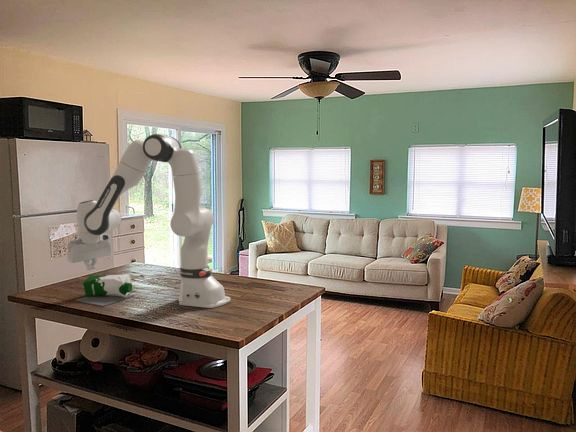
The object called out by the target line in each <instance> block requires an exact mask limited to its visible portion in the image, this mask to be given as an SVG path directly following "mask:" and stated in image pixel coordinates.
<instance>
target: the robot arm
mask: <svg viewBox="0 0 576 432" xmlns="http://www.w3.org/2000/svg"><path fill="white" fill-rule="evenodd" d="M153 161H155V162H162V163H168V164H169V165H170V169H171V172H172V173H171V174H172V179H173V181H172V182H173V187H174V195H175V198H174V199H175V200H174V210H173V214H172V217H171V219H170V223H169V224H170V229H171V230H172V232H173V233H174V234H175V235H176V236H178V237H184V239H183V243H182V245H181V247H180V268H179V275H180V277H181V278H180V280H181V281H180V289H179V295H178V305H179V306H187V307H197V308H199V307H200V308H205V309H206V308H207V309H212V308H217V307H220V306H224V305H225V304H228V303H229V302H231V297H230V296H228V295H226V294H225V293H226V292H225V288H224V286H223V284H221V283H220V282H219V281H218V280H217V279H216V278H215V277H214V276H213V275H212V273H213V272H214V269H213V268H211V269H210V267H209V265H208V264H209V263H208V259H209V258H208V250H209V248H208V245H209V240H210V236H211V235H210V234H211V229H212V226H213V225H214V221H215V217H214V214H213V213H214V212H212V211H211V209H209V208H206V207H203V206H200V203H201V197H202V194H203V189H202V180H201V175H200V169H199V168H200V167H199V163H198V160H197V157H196V155H195V152H194V151H193V150H192V149H189V148H187V147H186V148H184V147H183V148H182V144H181V143H180V141H179V140H178V139H176V138H175V137H173V136H168V135H167V134H159V133H155V134H150V135H148V136H147V137H146V138H144V140H140V139H135V140H133V141H131V143H130V144H129V145H128V146H127V148H126V150H125V151H124V153H123V155H122V157H121V158H120V161H119V162H118V164H117V167H116V168H115V171H114V173H113V175H112V176H111V178H110V180H109V182H108V183H107V184H106V186H105V188H104V190H103V192H102V193H101V195H100V197H99V199H98V200H95V199H91V200H86V201H81V202H79V203H78V204H77V207H76V223H77V225H78V226H77V239H75V240H71V241H70V242H69V243H68V244H67V255H66V257H67V258H66V261H67V262H68V263H71V264H75V263H79V262H83V263H84V264H85V266H86V270H88V271H91V270H94V269H95V268H96V264H97V261H98V259H99V258H102V257H103V258H104V257H107V256H111V254H112V253H113V252H112V243H111V241H110V239H111V236H110V234H107V232H109V231H112V230H114V229H116V228H118V227H119V226H120V225H121V223H122V215H121V213H120V211H119V210H118V209H117V208H114V207H115V205H116V203H117V201H118V200H119V198H120V197H121V196H122V195H123V194H124V193H125V192H127V191H128V190H130V189H132V188H134V187H135V186H137V185H139V183H140V182H141V180H142V179H143V178H144V176H145V174H146V171H147V169H148V168H149V166H150V164H151V163H152V162H153ZM90 262H91V263H90Z"/></svg>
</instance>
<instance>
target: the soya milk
mask: <svg viewBox="0 0 576 432" xmlns="http://www.w3.org/2000/svg"><path fill="white" fill-rule="evenodd" d="M82 285H83V290H84V294H85V297H91V296H119V297H126V296H127V295H130V293H131V292H132V291H133V285H132V281H131V275H130V273H124V274H103V275H101V274H100V275H99V274H97V275H96V274H95V275H93V274H90V275H89V276H88V277H87V278H85V280H84V281H83V282H82Z"/></svg>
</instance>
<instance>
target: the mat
mask: <svg viewBox="0 0 576 432" xmlns="http://www.w3.org/2000/svg"><path fill="white" fill-rule="evenodd" d="M133 297H134V295H131V294H128V295H127V296H126V297H119V296H91V297H86V296H85V297H81V298H77V299H75V302H79V303H84V304H88V305H92V306H98V307H106V306H109V305H112V304H114V303H115V304H116V303H119V302H121V301H124V300H127V299H131V298H133Z"/></svg>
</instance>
